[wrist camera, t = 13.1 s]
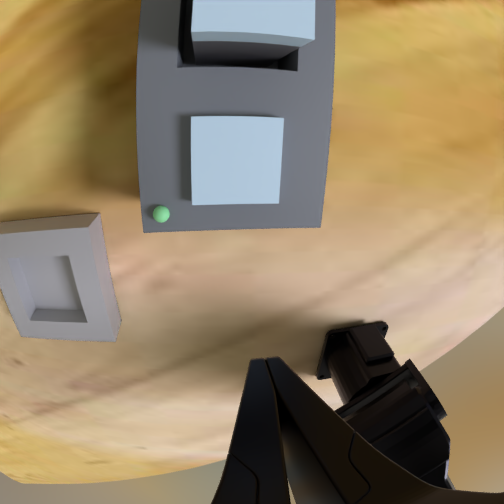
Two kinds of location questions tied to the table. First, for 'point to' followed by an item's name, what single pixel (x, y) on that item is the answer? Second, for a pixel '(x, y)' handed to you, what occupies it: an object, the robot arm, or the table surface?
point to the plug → (250, 30)
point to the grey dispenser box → (230, 129)
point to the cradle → (58, 278)
